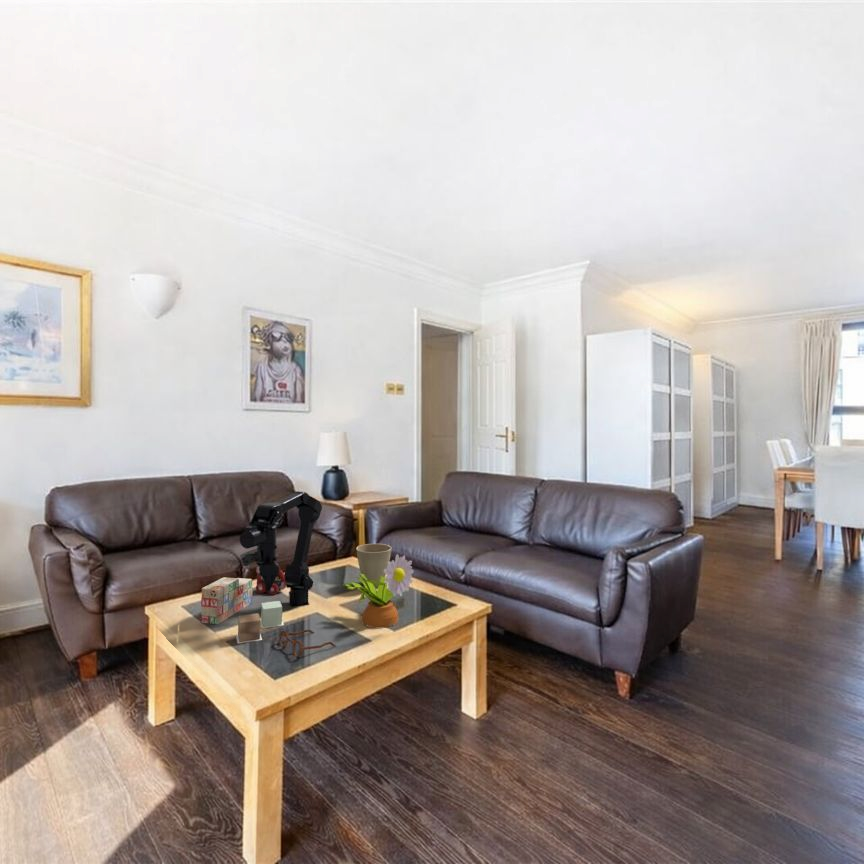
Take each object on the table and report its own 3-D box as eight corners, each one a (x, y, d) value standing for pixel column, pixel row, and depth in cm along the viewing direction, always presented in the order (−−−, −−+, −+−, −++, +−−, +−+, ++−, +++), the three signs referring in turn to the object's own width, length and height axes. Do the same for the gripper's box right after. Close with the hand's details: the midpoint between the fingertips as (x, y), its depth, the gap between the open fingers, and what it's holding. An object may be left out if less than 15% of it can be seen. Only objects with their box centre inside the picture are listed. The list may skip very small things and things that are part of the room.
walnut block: (257, 631, 160) (258, 613, 160) (259, 639, 154) (260, 620, 154) (237, 634, 157) (238, 615, 157) (239, 642, 152) (239, 623, 152)
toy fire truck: (281, 595, 194) (281, 569, 194) (251, 593, 196) (252, 567, 196) (288, 589, 201) (289, 564, 201) (260, 587, 203) (260, 562, 203)
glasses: (277, 646, 152) (278, 630, 152) (314, 634, 161) (315, 619, 161) (299, 661, 143) (299, 644, 143) (337, 648, 152) (338, 632, 152)
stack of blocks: (237, 601, 187) (238, 569, 186) (252, 603, 185) (253, 571, 185) (200, 624, 166) (201, 587, 165) (217, 626, 164) (218, 589, 164)
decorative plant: (373, 640, 157) (376, 562, 156) (328, 618, 173) (330, 547, 173) (431, 617, 176) (433, 548, 176) (385, 600, 193) (387, 536, 192)
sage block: (279, 617, 171) (279, 600, 171) (281, 624, 166) (282, 606, 166) (261, 620, 169) (261, 603, 169) (263, 627, 163) (263, 609, 163)
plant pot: (376, 577, 221) (377, 541, 220) (397, 586, 210) (398, 548, 209) (348, 583, 211) (349, 546, 210) (368, 593, 200) (369, 554, 199)
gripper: (240, 537, 173) (240, 581, 173) (243, 550, 156) (242, 599, 156) (274, 535, 177) (273, 578, 178) (279, 547, 160) (278, 595, 160)
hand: (266, 587), depth 168 cm, fingers open, 9 cm apart
